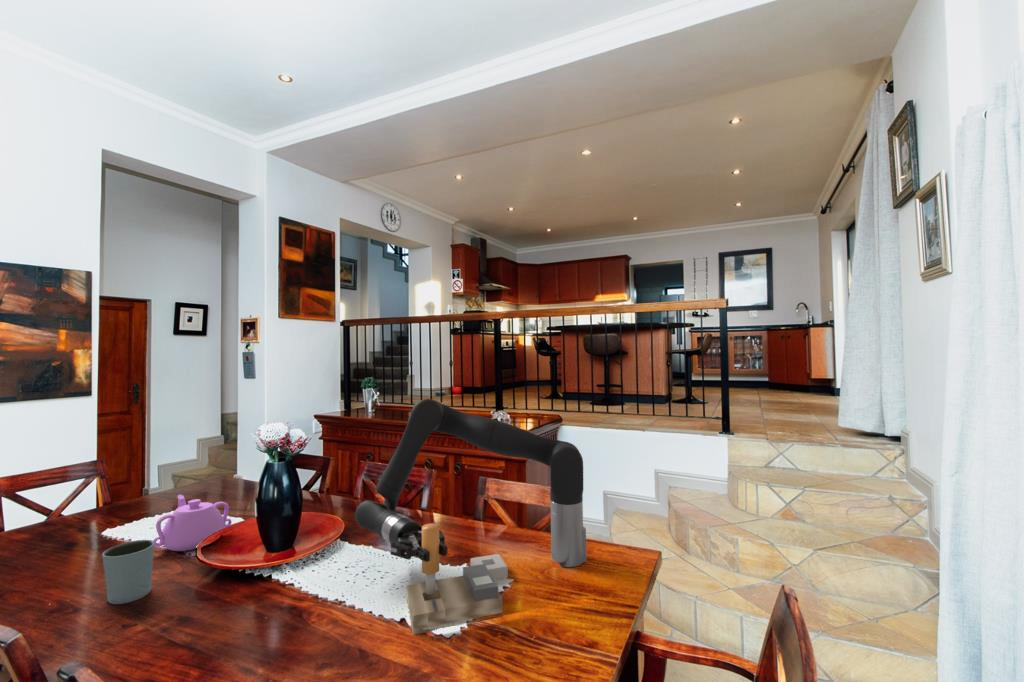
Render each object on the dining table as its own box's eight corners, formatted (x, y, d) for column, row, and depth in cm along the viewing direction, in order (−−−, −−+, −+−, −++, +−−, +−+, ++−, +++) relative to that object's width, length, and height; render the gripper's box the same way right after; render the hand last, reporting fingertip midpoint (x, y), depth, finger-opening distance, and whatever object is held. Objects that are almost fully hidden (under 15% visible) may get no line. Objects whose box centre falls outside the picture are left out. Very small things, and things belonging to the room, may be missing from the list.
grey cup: (163, 589, 121) (163, 542, 121) (119, 609, 111) (120, 558, 111) (136, 583, 124) (137, 537, 124) (91, 602, 114) (92, 553, 115)
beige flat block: (486, 587, 119) (486, 571, 119) (502, 616, 106) (502, 598, 106) (406, 601, 113) (406, 584, 113) (413, 634, 99) (413, 615, 100)
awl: (437, 586, 110) (437, 522, 111) (440, 594, 107) (440, 528, 107) (420, 589, 109) (420, 524, 109) (423, 597, 105) (423, 530, 106)
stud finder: (484, 573, 118) (484, 563, 118) (498, 597, 107) (497, 585, 107) (463, 577, 116) (463, 566, 116) (474, 601, 105) (474, 589, 105)
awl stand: (498, 568, 129) (498, 553, 130) (507, 581, 122) (507, 566, 122) (470, 573, 127) (470, 558, 127) (477, 587, 119) (477, 571, 119)
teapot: (214, 524, 166) (214, 485, 167) (242, 538, 154) (242, 496, 154) (137, 546, 148) (138, 502, 149) (163, 563, 136) (163, 515, 136)
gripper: (375, 524, 114) (408, 546, 101) (426, 511, 124) (463, 529, 111) (375, 555, 114) (408, 581, 101) (426, 539, 123) (463, 561, 110)
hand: (437, 554), depth 106 cm, fingers closed on awl, 4 cm apart
